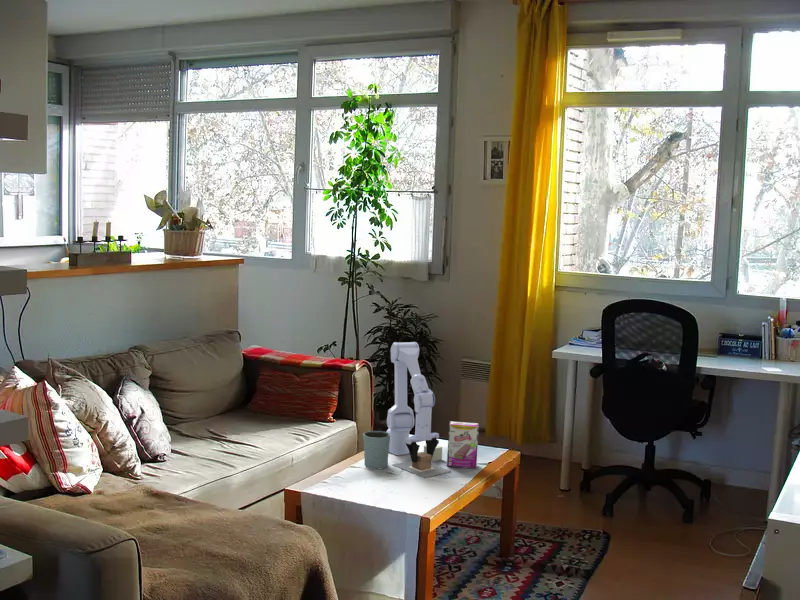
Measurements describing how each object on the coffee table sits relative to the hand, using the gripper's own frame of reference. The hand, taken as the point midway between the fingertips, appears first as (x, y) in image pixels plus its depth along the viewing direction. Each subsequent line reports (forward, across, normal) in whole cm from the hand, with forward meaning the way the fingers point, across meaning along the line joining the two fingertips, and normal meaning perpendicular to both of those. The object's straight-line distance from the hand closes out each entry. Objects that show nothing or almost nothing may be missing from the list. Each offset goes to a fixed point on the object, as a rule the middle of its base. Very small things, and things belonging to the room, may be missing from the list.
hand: (421, 460), depth 315 cm
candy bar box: (+3, +15, -6) cm, 17 cm away
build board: (+3, 0, 0) cm, 3 cm away
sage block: (+3, +12, +7) cm, 14 cm away
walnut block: (+3, 0, 0) cm, 3 cm away
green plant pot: (+3, -12, +12) cm, 17 cm away
